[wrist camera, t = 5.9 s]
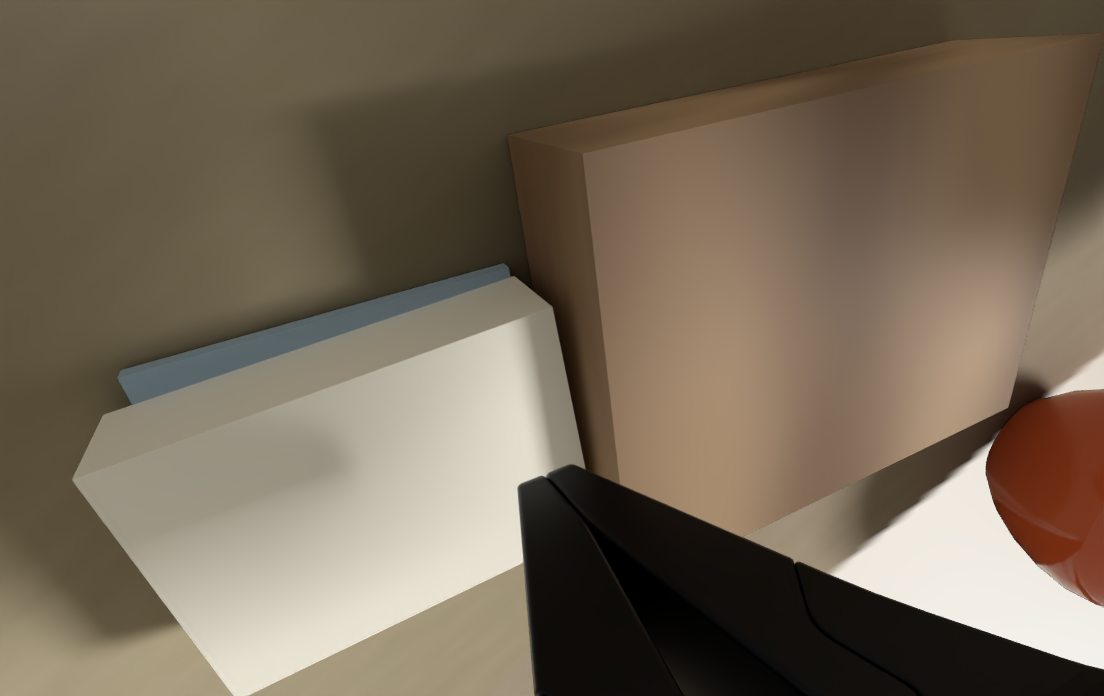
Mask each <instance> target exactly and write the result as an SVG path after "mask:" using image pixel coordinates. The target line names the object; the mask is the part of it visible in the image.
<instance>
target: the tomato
mask: <svg viewBox="0 0 1104 696" xmlns="http://www.w3.org/2000/svg"><path fill="white" fill-rule="evenodd" d="M986 477H987V480H988V484H989V488H990V492H991V495H992V499H993V502H994V505H995V507H996V510H997V512H998V514H999V515H1000V517H1001V519H1002V520H1003V522H1004V523H1005V525H1006V527H1007V528H1008V530H1009V532H1010V533H1011V535H1012V536H1013V538H1014V540H1015V541H1016V542H1017V543H1018V544H1019V545H1020V546H1021V547H1022V549H1023V550H1024V551H1025V552H1026V553H1027V554H1028V556H1030V558H1031V559H1032V560H1033V561H1034V562H1035V564H1036V565H1037V566H1038V567H1040V568H1041V569H1042V570H1043V571H1044V572H1046V573H1047V574H1048V575H1049V576H1050V577H1052V578H1053V579H1054V580H1056V581H1057V582H1058V583H1059V584H1060V585H1061V586H1063V587H1064V588H1065V589H1067V590H1069V591H1071V592H1073V593H1075V594H1077V595H1078V596H1081V597H1083V598H1084V599H1086V600H1089V601H1090V602H1092V603H1094V604H1096V605H1099V606H1101V607H1103V608H1104V389H1100V390H1081V391H1073V392H1069V393H1064V394H1060V395H1056V396H1052V397H1048V398H1039V399H1037V400H1034V401H1032V402H1030V403H1028V404H1027V405H1025V406H1024V407H1022V408H1021V409H1020V410H1018V411H1017V412H1016V413H1015V414H1014V415H1013V416H1012V417H1011V418H1010V419H1009V421H1008V422H1007V423H1006V424H1005V425H1004V427H1003V428H1002V429H1001V431H1000V432H999V434H998V435H997V437H996V439H995V441H994V442H993V444H992V446H991V449H990V451H989V454H988V457H987V462H986Z"/></svg>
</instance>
